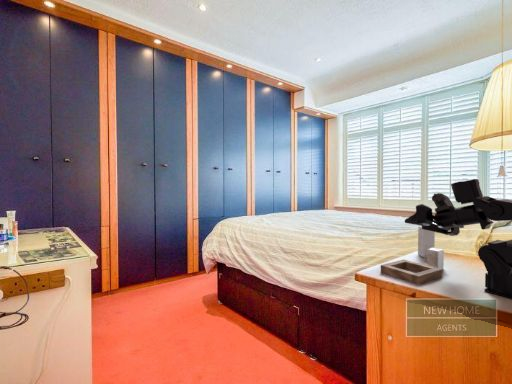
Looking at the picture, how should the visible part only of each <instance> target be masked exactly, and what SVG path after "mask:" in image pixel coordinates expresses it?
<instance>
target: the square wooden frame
mask: <svg viewBox="0 0 512 384" xmlns="http://www.w3.org/2000/svg"><path fill="white" fill-rule="evenodd" d="M380 273H381V274H385V275H387V276H391V277H395V278H397V279H400V280H403V281H406V282H410V283H413V284H416V285H421V284H425V283H428V282H431V281H433V280H436V279H439V278H442V277H443V270H442V269H439V268H436V267H432V266H428V265H427V264H423V263H420V262H415V261H413V260H412V261H411V260H408V259H400V260H396V261H392V262H388V263H384V264H380Z"/></svg>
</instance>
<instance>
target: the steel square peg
mask: <svg viewBox="0 0 512 384" xmlns="http://www.w3.org/2000/svg"><path fill="white" fill-rule="evenodd" d="M444 251H445V250H444V249H442V248H441V249H440V248H436V247H434V248H430V249H427V258H426V265H428V266H432V267H436V268H439V269H442V271H443V270H444V268H445V267H444V260H445V259H444Z"/></svg>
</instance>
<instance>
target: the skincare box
mask: <svg viewBox="0 0 512 384" xmlns="http://www.w3.org/2000/svg"><path fill="white" fill-rule="evenodd" d="M417 226H418V228H417V232H418V233H417V234H418V235H417V254H418V255H419V256H421V258H425V259H427V249H430V248H436V247H435V246H436V245H435V242H436V240H435V235H436V234H435V233H436V232H433V231H428V230H424V229H422V226H419V225H417Z"/></svg>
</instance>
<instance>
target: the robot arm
mask: <svg viewBox="0 0 512 384" xmlns="http://www.w3.org/2000/svg"><path fill="white" fill-rule="evenodd" d="M450 186H451V189H452V190H451V191H452V193H453V196H454V199H455V202H456V203H457V204H461V205H463V206H458V207H455V206H454V204H453V203H452V201H451V199H450V197H449V196H447V195H445V194H443V193H440V192H438V193H434V194H433V195H432V197H431V200H432V202H434V205H435V208H434V212H435V213H434V215H433V208H432V207H430V206H428V205H426V204H424V203H421V204H417V205H416V206H415V213H413V214H412V215H410V216H409V217H407V218H405V219H404V223H405V224H409V225H415V226H422V229H424V230H428V231H433V232H435V233H438V234H442V235H446V236H451V237H453V236H458V235H459V234H460V233H461V229H463V228H465V226H471V225H478V224H479V225H480V228H481V230H487V229H488V230H489V229H490V228H491V226H492V225H493V224H494V222H502V221H504V222H505V221H512V199H506V198H504V199H497V198H494V197H491V196H484V195H483V192H482V189H481V186H480V181H479V179H478V178H473V179H470V180H464V181H461V180H460V181H457V182H456V181H455V182H454V183H450ZM466 204H467V205H466ZM468 204H470V205H468ZM486 243H487V244H484V245H482V246H481V247H479V249H478V251H477V254H478V258H479V259H480V261H481V262H482V263H483V265H484V267H485V271H487V272H486V273H484V275H485V276H484V287H485V288H484V289H483V290H484V292H487V293H490V294H494V295H497V296H500V297H505V298H508V299H511V300H512V239H507V240H501V239H496V240H492V241H488V242H486Z"/></svg>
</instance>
